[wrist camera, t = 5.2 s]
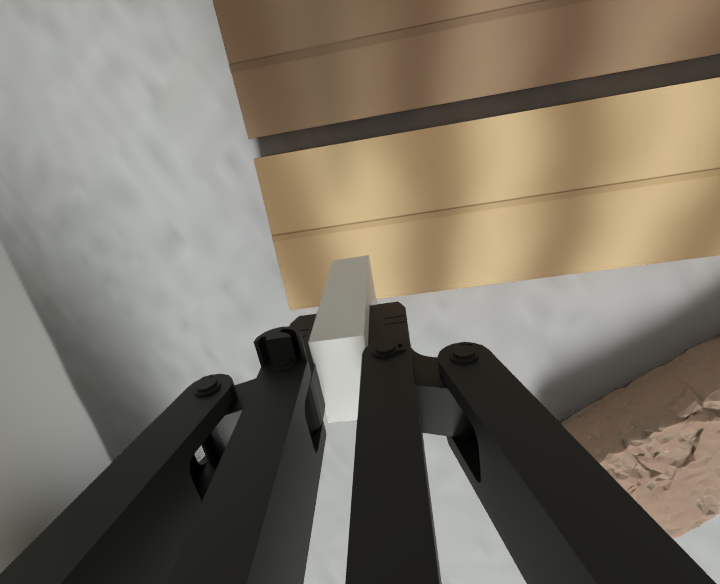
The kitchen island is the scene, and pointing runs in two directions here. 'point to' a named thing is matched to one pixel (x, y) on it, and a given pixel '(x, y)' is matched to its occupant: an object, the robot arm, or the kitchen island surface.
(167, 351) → the kitchen island surface
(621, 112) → the plank
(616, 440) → the brick
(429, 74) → the laid row
